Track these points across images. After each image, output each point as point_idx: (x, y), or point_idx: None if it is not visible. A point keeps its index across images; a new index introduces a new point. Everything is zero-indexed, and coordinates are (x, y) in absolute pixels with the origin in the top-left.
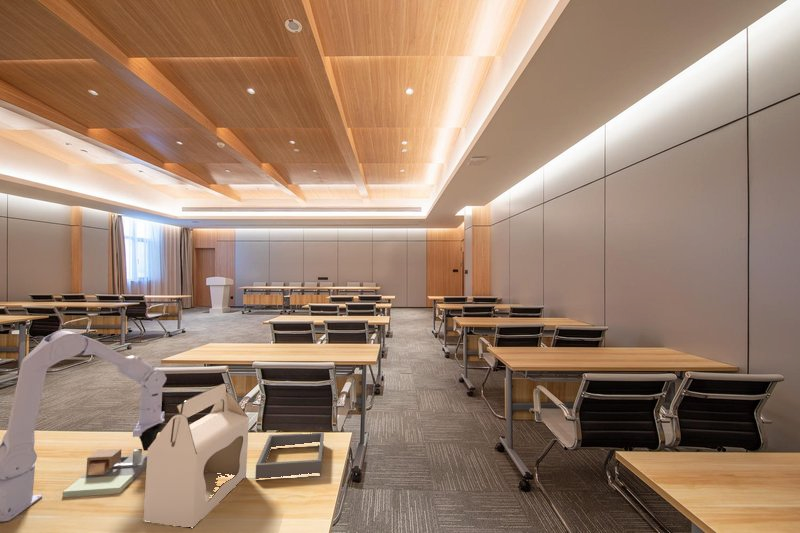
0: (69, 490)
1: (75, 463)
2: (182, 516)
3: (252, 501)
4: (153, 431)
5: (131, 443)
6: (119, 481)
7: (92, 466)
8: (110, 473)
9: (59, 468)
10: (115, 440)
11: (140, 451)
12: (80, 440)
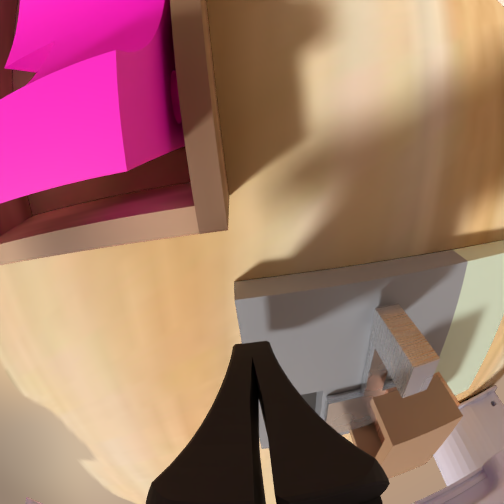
0: (470, 380)
1: (267, 472)
2: None
3: None
4: (382, 475)
5: (112, 431)
6: (491, 281)
7: None
8: None
9: None
10: (116, 461)
11: (427, 355)
12: (146, 495)
